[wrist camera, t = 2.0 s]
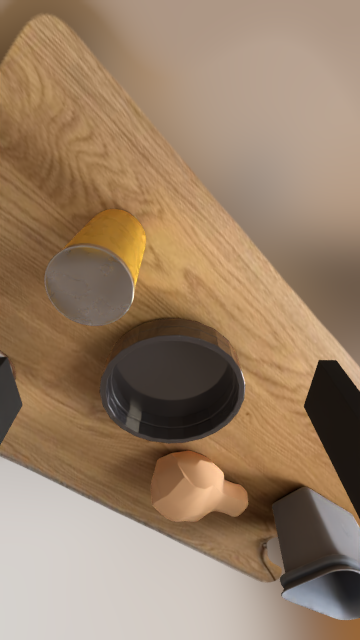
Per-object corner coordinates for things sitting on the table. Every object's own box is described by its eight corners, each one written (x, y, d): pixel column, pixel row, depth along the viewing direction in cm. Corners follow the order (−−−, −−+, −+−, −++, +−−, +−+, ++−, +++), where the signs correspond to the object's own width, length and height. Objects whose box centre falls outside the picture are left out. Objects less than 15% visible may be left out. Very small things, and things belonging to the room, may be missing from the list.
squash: (172, 430, 50) (186, 479, 42) (252, 463, 59) (275, 509, 51) (134, 473, 53) (140, 527, 45) (216, 498, 62) (233, 547, 54)
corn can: (133, 199, 32) (112, 233, 21) (154, 257, 35) (146, 313, 24) (76, 219, 33) (26, 261, 22) (101, 274, 36) (70, 335, 25)
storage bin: (369, 512, 64) (417, 601, 51) (308, 541, 69) (338, 628, 57) (307, 471, 56) (345, 565, 44) (244, 508, 62) (263, 600, 50)
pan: (221, 298, 38) (227, 316, 34) (249, 402, 47) (256, 426, 43) (83, 338, 40) (73, 359, 37) (135, 429, 50) (132, 454, 46)
